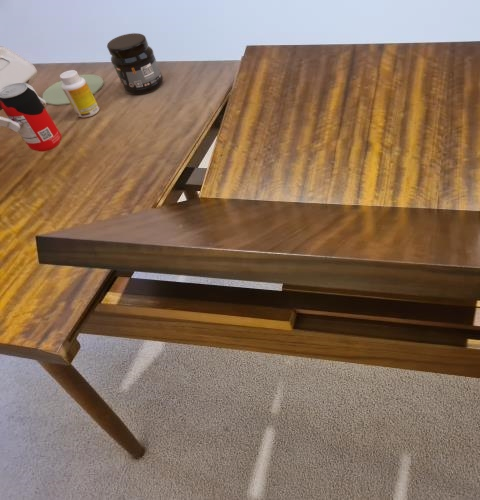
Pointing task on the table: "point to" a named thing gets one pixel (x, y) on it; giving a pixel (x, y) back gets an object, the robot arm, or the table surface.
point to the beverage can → (30, 117)
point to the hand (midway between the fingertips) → (32, 116)
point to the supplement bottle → (79, 94)
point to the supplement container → (135, 63)
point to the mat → (58, 97)
